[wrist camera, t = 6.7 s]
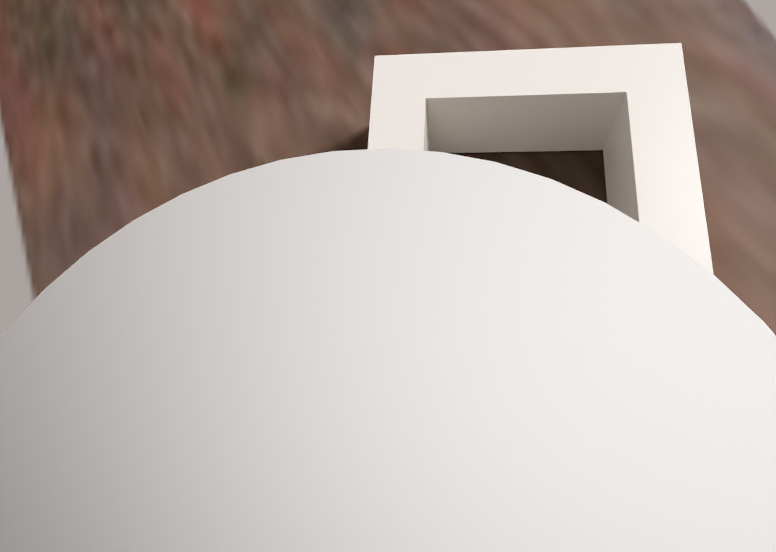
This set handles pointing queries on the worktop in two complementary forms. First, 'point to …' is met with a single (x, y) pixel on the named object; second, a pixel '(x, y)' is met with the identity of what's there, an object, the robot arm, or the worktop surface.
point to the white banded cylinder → (387, 375)
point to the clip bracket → (559, 120)
